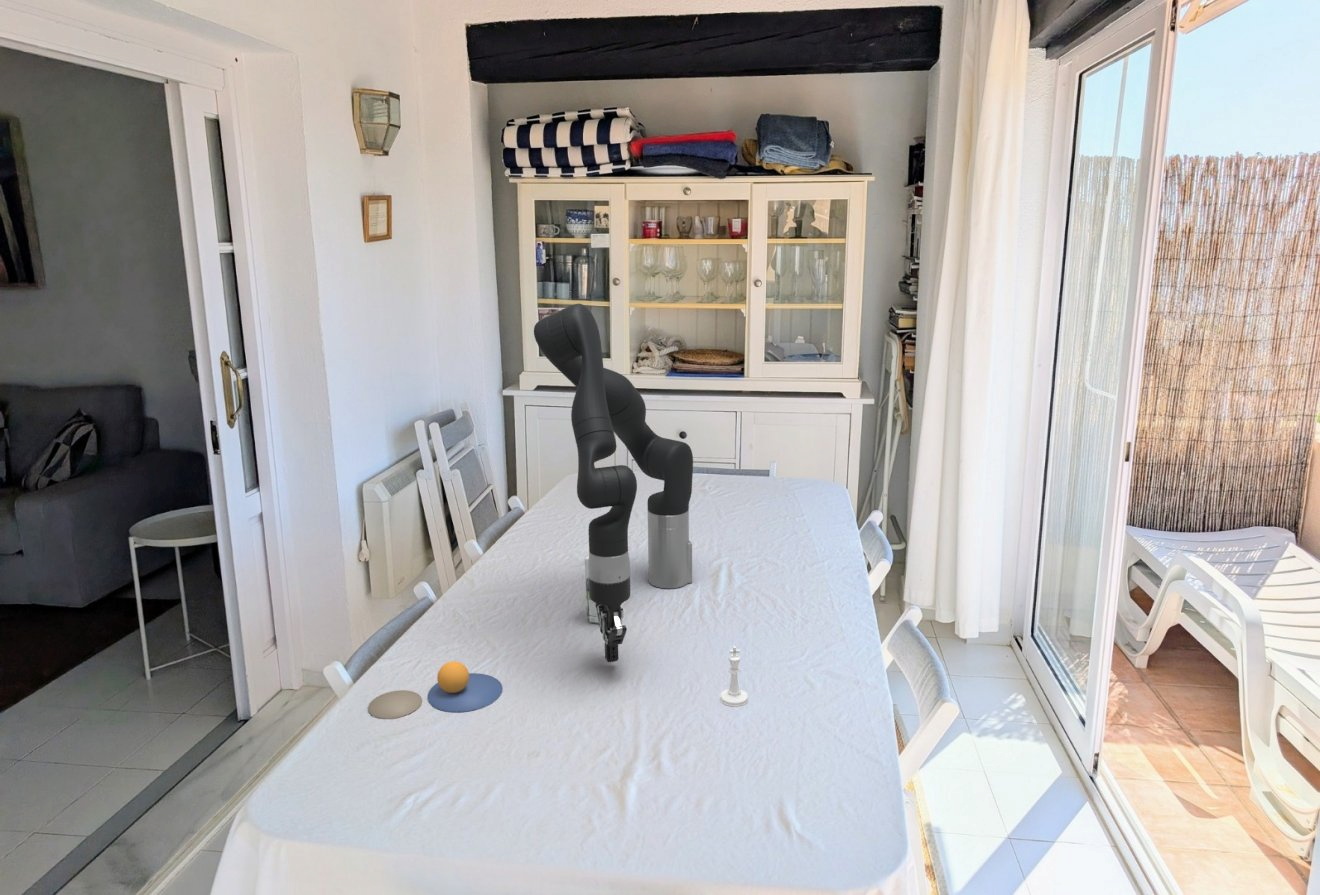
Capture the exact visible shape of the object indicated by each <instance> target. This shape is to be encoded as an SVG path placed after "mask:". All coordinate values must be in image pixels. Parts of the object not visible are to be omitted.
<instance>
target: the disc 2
mask: <svg viewBox="0 0 1320 895" xmlns="http://www.w3.org/2000/svg"><path fill="white" fill-rule="evenodd" d="M502 693H503V685H502V682H500V680H499V679H498V678H496V677H495V676H492V675H488V674H484V673H478V672H477V673H476V672H473V673H471V672H469V681H468V683H467V685H466V687H465V688H464V689H463V690H461V691H459V692H457V693H448V692H445V691H444V690H443V689H441V687H440V686H439V684H438V682H437V683H435V684H434V685H432V687H431V688H430V689H429V690H428V693H427V702H428V704H430V705H431V707H432V708H435V709H437V710H439V711H442V712H448V713H467V712H473V711H477V710H481V709H483V708H486V707H488V706H490V705H491V704H493V703H495V702H496V701H497V700H498V699H499V697H501V695H502Z"/></svg>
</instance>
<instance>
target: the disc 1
mask: <svg viewBox="0 0 1320 895" xmlns="http://www.w3.org/2000/svg"><path fill="white" fill-rule="evenodd" d="M422 703H423V698H422V696H421V695H420V694H419V693H417V692H415V691H412V690H407V689H405V690H403V689H401V690H392V691H389V692H388V691H387V692H384V693H382V694H380V695H378V696H376V697H375V698H373V699H372V700H371V701H370V702H369V703H368V706H367V711H368V713H369V715H371V716H372V717H374V718H377V719H381V720H382V719H383V720H393V719H395V720H396V719H399V718H400V719H401V718H403V717H404V718H405V717H406V716H408V715H411V714H412V713H414V712H416V711H417V710H419V708H420V707H421V705H422Z"/></svg>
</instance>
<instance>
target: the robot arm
mask: <svg viewBox="0 0 1320 895" xmlns="http://www.w3.org/2000/svg"><path fill="white" fill-rule="evenodd" d="M533 327H534V328H533V337H534V340H535V342H536V344H537V345H538V348H539V349H540V351H541V352H542V354H543V355H544V356H545V357H546V359H547V360H548V361H549V362H550V363H551V364H552V365H553V366H554V367H555V368H556V369H557V371H559V372H560V373H562V375H563V376H565V378H566V379H568V381H570V382H571V383H572V384H573V385H574V387H576V391H575V394H574V397H573V401H572V406H571V411H570V412H571V413H570V415H571V416H570V418H571V427H572V431H573V435H574V440H575V444H576V448H577V457H578V461H577V462H578V463H577V465H578V467H577V468H578V469H577V481H576V494H577V497H578V500H579V502H580V503H581V504H582V505H583V507H585V508H586V509H591V510H592V509H602V508H608V507H610V509H609V511H608V512H606V513H604V514H602V515H600V516H597V517H595V518H594V519H592V520H591V521H590V522H589V523H588V554H589V559H588V572H589V597H590V599H591V600H592V601H593V602H595V603H596V604H595V606H596V609H597V615H598V620H599V624H598V625H599V632H600V633H601V634H602V640H603V641H604V658H605V659H606V660H605V661H606V662H607V663H613V662H614V663H615V662H618V661H619V660H620V659H619V645H622V644H623V642H624V639H625V636H626V634H627V631H628V630H627V629H628V628H627V626H626V625H623V619H624V609H623V608H622V604H623V603H624V602H627V601H628V600H629V599H630V597H631V561H630V555H629V553H630V552H629V539H628V538H629V537H628V536H629V535H628V533H629V531H628V530H629V524H630V519H631V514H632V510H633V507H634V504H635V500H636V495H637V490H638V482H637V477H636V474H635V472H634V471H633V469H631V468H630V467H629V466H627V465H623V464H621V465H620V464H619V465H612V466H605V467H604V466H603V467H595V463H596V462H599V461H601V460H604V459H606V458H609V457H611V456H612V455H613V454H614V453H616V451H617V440H616V436H617V438H618V439H619V441H621V442H622V444H624V446H625V447H626V449H627V451H628V452H629V453H630V455H631V457H632V458H633V460H634V462H635V463H636V465H637V467H638V468H639V469H640V470H641V472H642V473H643V474H644V475H646V476H647V477H650V478H652V479H655V480H660V481H663V490H662V491H658V492H655V493H652V494H651V495H649V497H648V498H647V504H646V505H647V552H648V553H647V554H648V555H647V556H648V557H647V560H648V563H647V564H648V572H647V573H648V582H649V584H650V585H652V586H654V587H656V588H660V589H677V588H682V587H684V586H686V585H688V584H691V583H693V543H692V542H691V541H690V510H689V509H690V502H691V501H690V500H691V498H692V493H693V492H692V491H693V474H694V473H693V472H694V457H693V452H692V449H691V446H690V445H689V444H688V443H687V442H684V441H680V440H676V439H671V438H665V437H662V436H659V435H657V434H656V433H655V431H653V430H652V429H651V427H650V426H649V425H648V424H647V422H646V416H647V414H646V413H647V408H646V402H645V400H644V398H643V397H642V395H641V394H640V392H639V391H638V390H637V389H636V387H635V386H634V385H633V383H632V382H631V381H630V379H629V378H627V377H626V376H625V375H623V374H621V373H619V372H617V371H614V370H612V369H609V368H606V367H604V359H603V352H602V351H603V349H602V342H601V341H602V340H601V334H600V330H599V327H598V322H597V321H596V318H595V317H594V315H593V313H592V312H591V311H590V309H589V307H587V306H586V305H584V304H582V303H575V304H572V305H570V306H567V307H565V308H563V309H560V310H557V311H556V312H554V313H551V314H549V315H547V316H545V317H543V318H541V319H539V320H538V321H537V322H536V323H535V325H534V326H533ZM620 606H621V607H620Z"/></svg>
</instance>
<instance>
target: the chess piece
mask: <svg viewBox="0 0 1320 895" xmlns="http://www.w3.org/2000/svg"><path fill="white" fill-rule="evenodd" d="M729 654H730V655H729V656H728V661H729V664H730V666H729V667H728V669H727V671H728V673H730V674H731V676H730V682H729V687H728V688H726V689H724V690H723V691H721V692H720V696H719V701H720V702H721V703H722V704H723V705H726V706H728V707H736V708H737V707H742V706H744V705H746V704H747V703H748V702H749V695H748V693H747V692H746V691H745V690H743V689H741V688H740V686H739V679H738V677H739V676H738V674H739V673H741V672H742V671H741V668H740V667H739V663H740V661H741V656H740V655H738V654H740V649H737V647H736V646H735V645H733V646H732V649H729Z"/></svg>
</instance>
